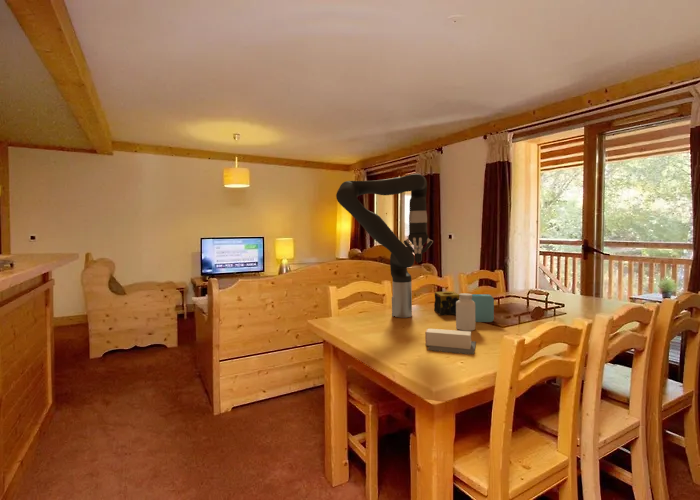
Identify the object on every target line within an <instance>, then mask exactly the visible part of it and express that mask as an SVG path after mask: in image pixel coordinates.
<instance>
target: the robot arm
mask: <svg viewBox="0 0 700 500" xmlns="http://www.w3.org/2000/svg"><path fill="white" fill-rule="evenodd" d="M427 190H428V181H427V178H426V177H425V176H424V175H422V174H420V173H412V174H408V175H407V174H406V175H404V176H400V177H392V178H386V179H385V178H383V179H377V180H346V181H344V182H342V183H341V184H340V185H339V188H338V190H337V191H336V194H335V198H336V201H337V202H338V204H339V205H340V206H341V207H342V208H344V209H345V210H346V211H347V213H349V214H350V215H351V216H352V217H353V218H354V219H355V220H356V222H358V224H359V225H360V226H361V227H362V228H363V229H364V230H365V231H366V233H367V234H368V235H369V236H370V237H371V238H372V239H373V240H374V241H376V243H378V244H379V245H381V246H382V247H383V248H386V250H388V251H389V252H390V256H389V264H390V265H389V266H390V276H391V278H392V296H391V317H394V316H395V317H396V318H410V317H412V316H413V306H412V305H413V303H412V302H413V301H412V300H413V298H412V295H413V294H412V290H413V289H412V275H411V274H410V272H408V269H409V268H411V267H412V266H413V265H414V264H415V262H416V263H421V262H422V261H423V253H426V252H427V251H428V249H429V248H430V247H431V245H432V244H433V243H434V240H432V239H430V238H429V235H428V213H427V192H428V191H427ZM405 192H407V193H408V192H410V199H409V214H408V228H409V229H408V231H409V233H408V237H407V238H406V239H405V240H403V241H401V239H399V238H398V236H397V235H396V234H395V233H394V232H393V231H392V229H391V228H390V226H388V224H387V223H386V222H385V220H383V219H382V218H381V216H380V215H378V214H377V213H375V212H373V211H370V210H368V209H367V208H366V207H365V206H364V205H363V203H361V201H360V200H359V198H358V197H359V196H362V195H366V194H368V195H369V194H370V195H379V196H393V195H398V194H399V195H400V194H402V193H405ZM425 243H426V245H425ZM411 244H412V245H413V247H412V245H411ZM424 245H425V247H424ZM423 247H424V248H423Z"/></svg>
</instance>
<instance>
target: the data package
mask: <svg viewBox="0 0 700 500" xmlns="http://www.w3.org/2000/svg"><path fill="white" fill-rule="evenodd" d="M471 294H472V293H471ZM471 300H472V301H474V302H475V323H493V322H494V320H495V311H494V310H495V299H494V297H493V296H492V295H491V294H489V293H488V294H485V293H483V294H481V293H479V294H478V293H477V294H476V293H475V294H472V299H471Z"/></svg>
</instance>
